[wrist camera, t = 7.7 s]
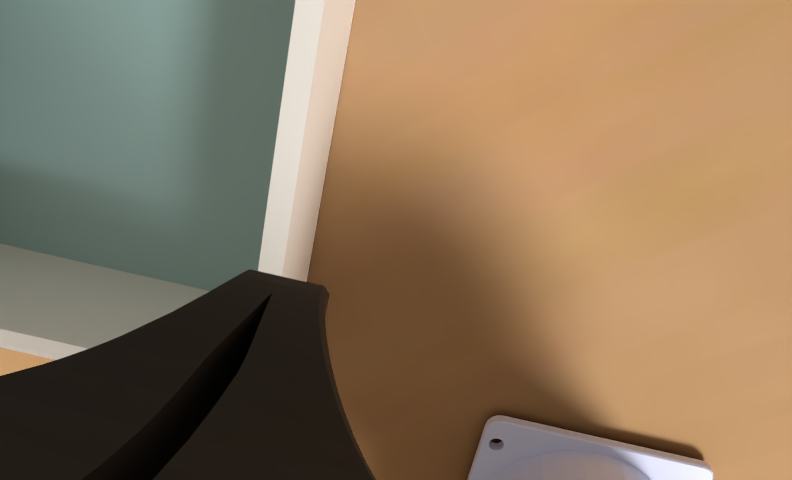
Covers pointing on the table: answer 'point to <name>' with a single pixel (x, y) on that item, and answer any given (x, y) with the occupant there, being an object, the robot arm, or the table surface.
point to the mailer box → (156, 155)
